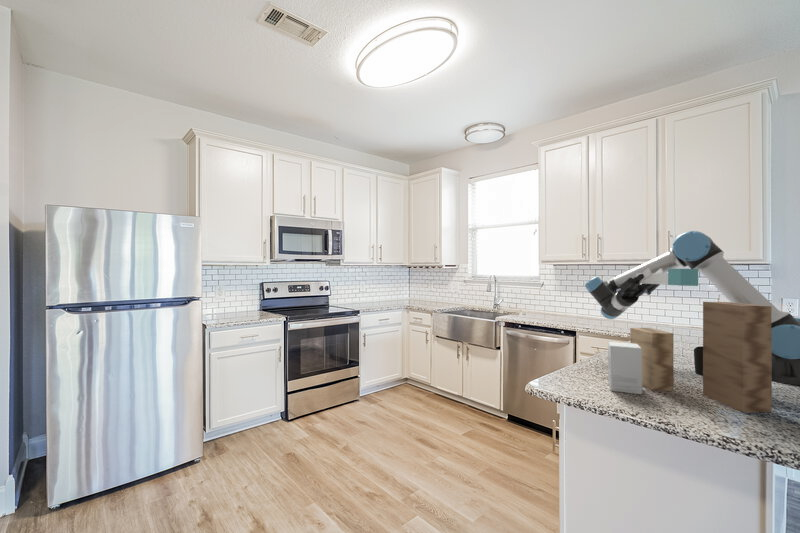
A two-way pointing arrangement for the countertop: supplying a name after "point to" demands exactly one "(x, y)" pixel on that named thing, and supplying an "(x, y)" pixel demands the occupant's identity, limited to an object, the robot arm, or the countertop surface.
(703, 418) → the countertop surface
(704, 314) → the tall block
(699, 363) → the pen holder
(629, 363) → the supplement box
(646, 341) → the wooden block
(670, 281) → the teal and white bar
